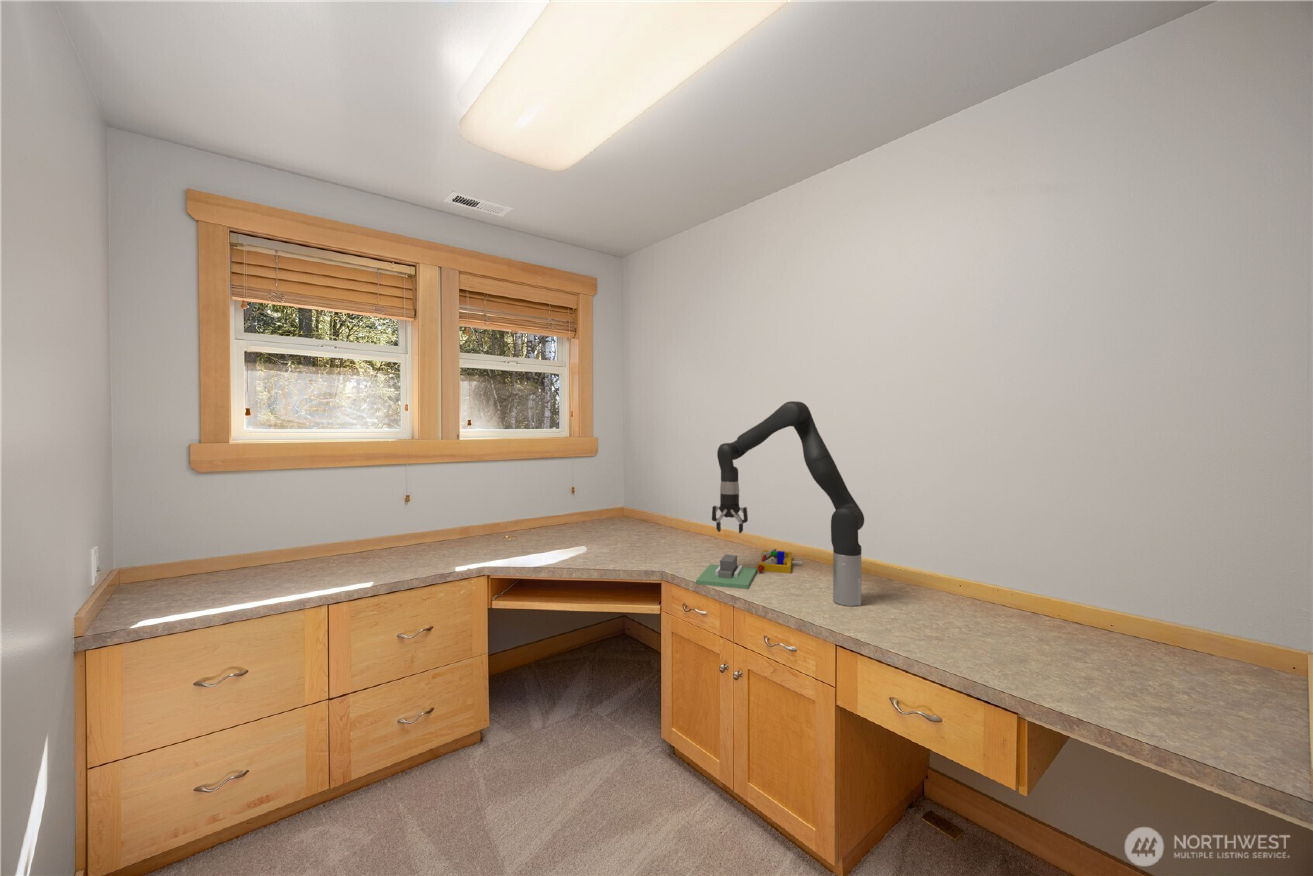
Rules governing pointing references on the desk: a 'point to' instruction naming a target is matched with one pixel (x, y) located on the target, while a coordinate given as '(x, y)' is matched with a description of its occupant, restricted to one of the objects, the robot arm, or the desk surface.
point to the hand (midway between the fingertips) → (729, 532)
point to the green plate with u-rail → (738, 580)
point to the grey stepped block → (727, 566)
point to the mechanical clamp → (782, 561)
